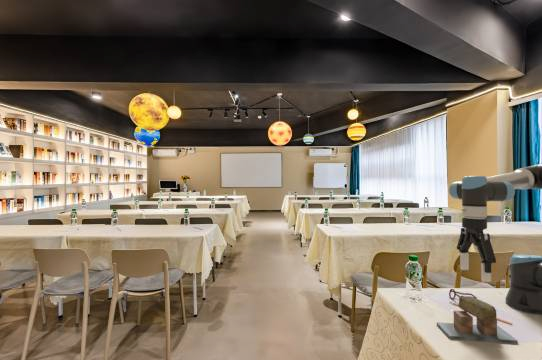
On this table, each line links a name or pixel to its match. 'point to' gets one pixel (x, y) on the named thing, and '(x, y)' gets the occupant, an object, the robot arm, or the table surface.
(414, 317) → the table surface
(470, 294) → the glasses
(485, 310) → the stone block
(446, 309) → the table surface
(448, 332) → the bridge base
